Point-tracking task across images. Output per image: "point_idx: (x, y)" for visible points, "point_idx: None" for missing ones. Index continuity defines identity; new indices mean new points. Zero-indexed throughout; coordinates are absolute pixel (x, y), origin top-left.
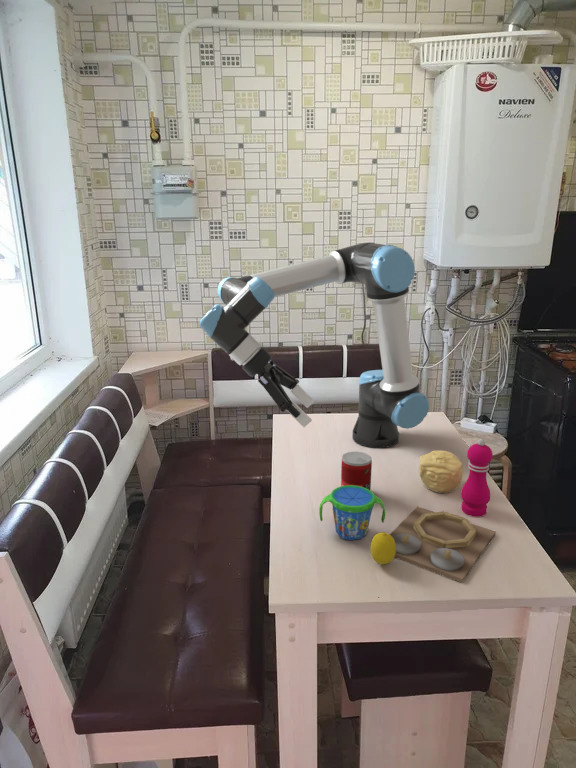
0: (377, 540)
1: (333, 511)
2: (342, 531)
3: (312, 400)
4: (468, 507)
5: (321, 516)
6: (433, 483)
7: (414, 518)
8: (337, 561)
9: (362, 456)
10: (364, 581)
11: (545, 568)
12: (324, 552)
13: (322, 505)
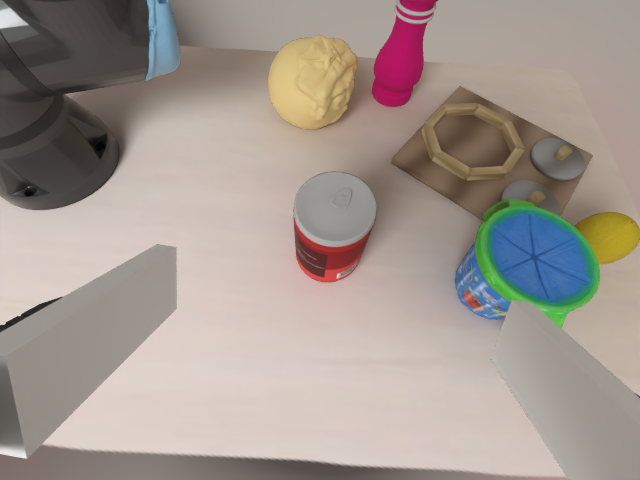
0: (637, 240)
1: None
2: None
3: (168, 255)
4: (405, 92)
5: None
6: (341, 110)
7: (435, 171)
8: (590, 331)
9: (321, 191)
10: (634, 292)
11: (525, 71)
12: None
13: None
